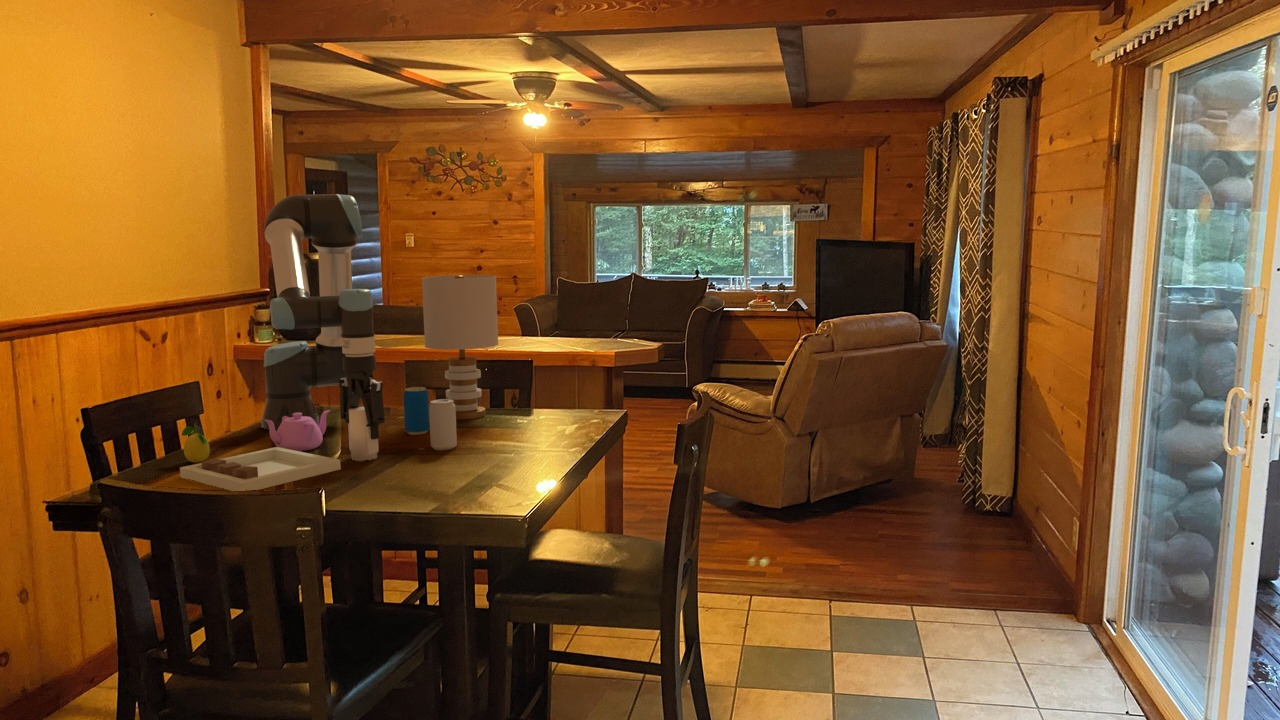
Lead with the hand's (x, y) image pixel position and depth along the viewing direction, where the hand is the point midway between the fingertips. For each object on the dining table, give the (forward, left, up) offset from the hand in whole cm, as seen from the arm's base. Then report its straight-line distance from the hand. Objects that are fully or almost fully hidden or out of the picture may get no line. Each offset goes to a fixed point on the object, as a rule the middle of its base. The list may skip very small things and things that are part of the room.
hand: (364, 450), depth 230 cm
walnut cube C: (+1, -32, -1) cm, 32 cm away
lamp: (-19, +51, -2) cm, 54 cm away
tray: (-5, -24, -2) cm, 25 cm away
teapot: (-24, -1, -2) cm, 24 cm away
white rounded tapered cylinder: (0, 0, -2) cm, 2 cm away
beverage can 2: (+8, +18, -2) cm, 20 cm away
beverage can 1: (-12, +27, -2) cm, 30 cm away
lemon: (-28, -26, -2) cm, 38 cm away
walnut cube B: (-5, -32, -1) cm, 32 cm away
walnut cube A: (-11, -32, -1) cm, 33 cm away
